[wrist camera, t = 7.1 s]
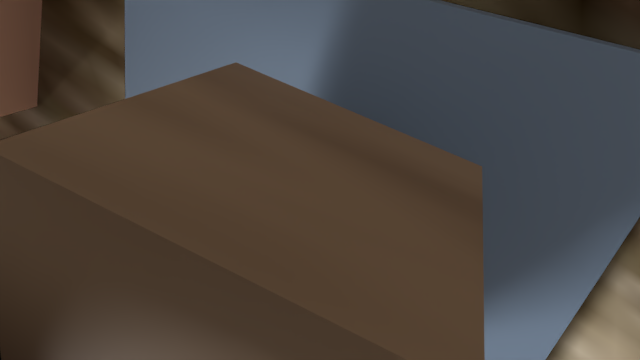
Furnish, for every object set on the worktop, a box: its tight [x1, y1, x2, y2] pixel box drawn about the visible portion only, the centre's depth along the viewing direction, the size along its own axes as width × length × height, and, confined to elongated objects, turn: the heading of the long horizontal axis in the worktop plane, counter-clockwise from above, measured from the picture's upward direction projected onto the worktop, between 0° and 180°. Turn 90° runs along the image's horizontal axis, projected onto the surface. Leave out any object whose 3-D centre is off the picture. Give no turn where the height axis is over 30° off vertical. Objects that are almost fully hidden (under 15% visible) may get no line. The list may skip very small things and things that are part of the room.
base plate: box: [125, 0, 640, 360], centre depth 12 cm, size 12×13×1 cm
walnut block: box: [0, 62, 485, 360], centre depth 8 cm, size 8×5×5 cm, turn 162°
